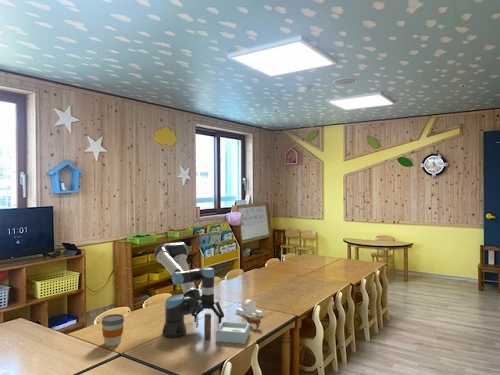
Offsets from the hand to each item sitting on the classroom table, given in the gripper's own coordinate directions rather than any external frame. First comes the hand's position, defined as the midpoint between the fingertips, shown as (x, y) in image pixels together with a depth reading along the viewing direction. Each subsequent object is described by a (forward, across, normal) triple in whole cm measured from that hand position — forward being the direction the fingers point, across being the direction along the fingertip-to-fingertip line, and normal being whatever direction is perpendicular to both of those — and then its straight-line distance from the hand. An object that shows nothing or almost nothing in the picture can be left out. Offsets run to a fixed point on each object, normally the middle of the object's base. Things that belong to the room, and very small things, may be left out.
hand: (207, 328), depth 225 cm
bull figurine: (+7, +24, +23) cm, 34 cm away
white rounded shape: (+7, +18, +48) cm, 52 cm away
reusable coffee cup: (+7, -54, -16) cm, 57 cm away
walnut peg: (+7, 0, 0) cm, 7 cm away
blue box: (+7, +15, +5) cm, 17 cm away
